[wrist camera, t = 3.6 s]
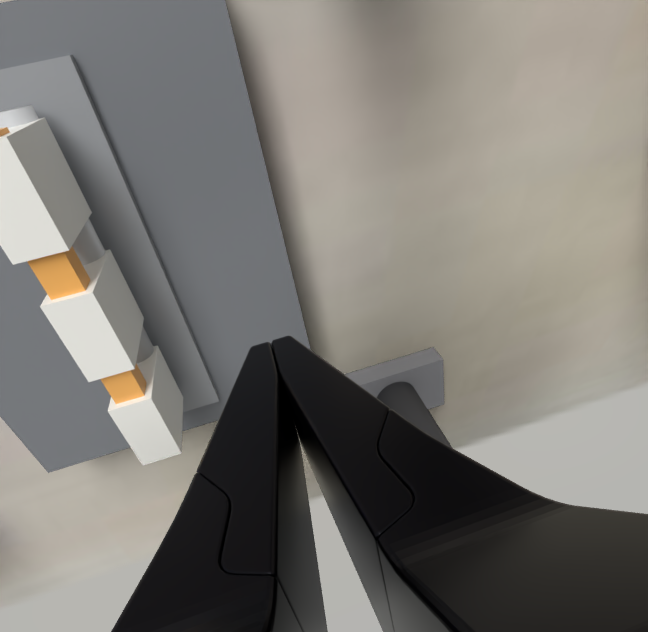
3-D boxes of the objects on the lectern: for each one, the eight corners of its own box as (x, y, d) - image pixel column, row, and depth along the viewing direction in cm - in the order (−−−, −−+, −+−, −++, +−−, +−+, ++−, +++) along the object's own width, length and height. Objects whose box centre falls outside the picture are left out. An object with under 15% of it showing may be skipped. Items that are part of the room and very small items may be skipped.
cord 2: (433, 347, 21) (583, 538, 13) (435, 391, 23) (569, 585, 15) (335, 377, 21) (428, 596, 13) (344, 420, 22) (432, 638, 14)
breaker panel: (212, -28, 12) (216, -41, 10) (309, 359, 20) (322, 393, 18) (-227, 58, 11) (-316, 61, 9) (60, 434, 19) (46, 479, 17)
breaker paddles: (41, 102, 11) (-4, 120, 8) (186, 397, 16) (184, 459, 14) (-11, 113, 10) (-71, 135, 8) (153, 407, 16) (146, 471, 14)
